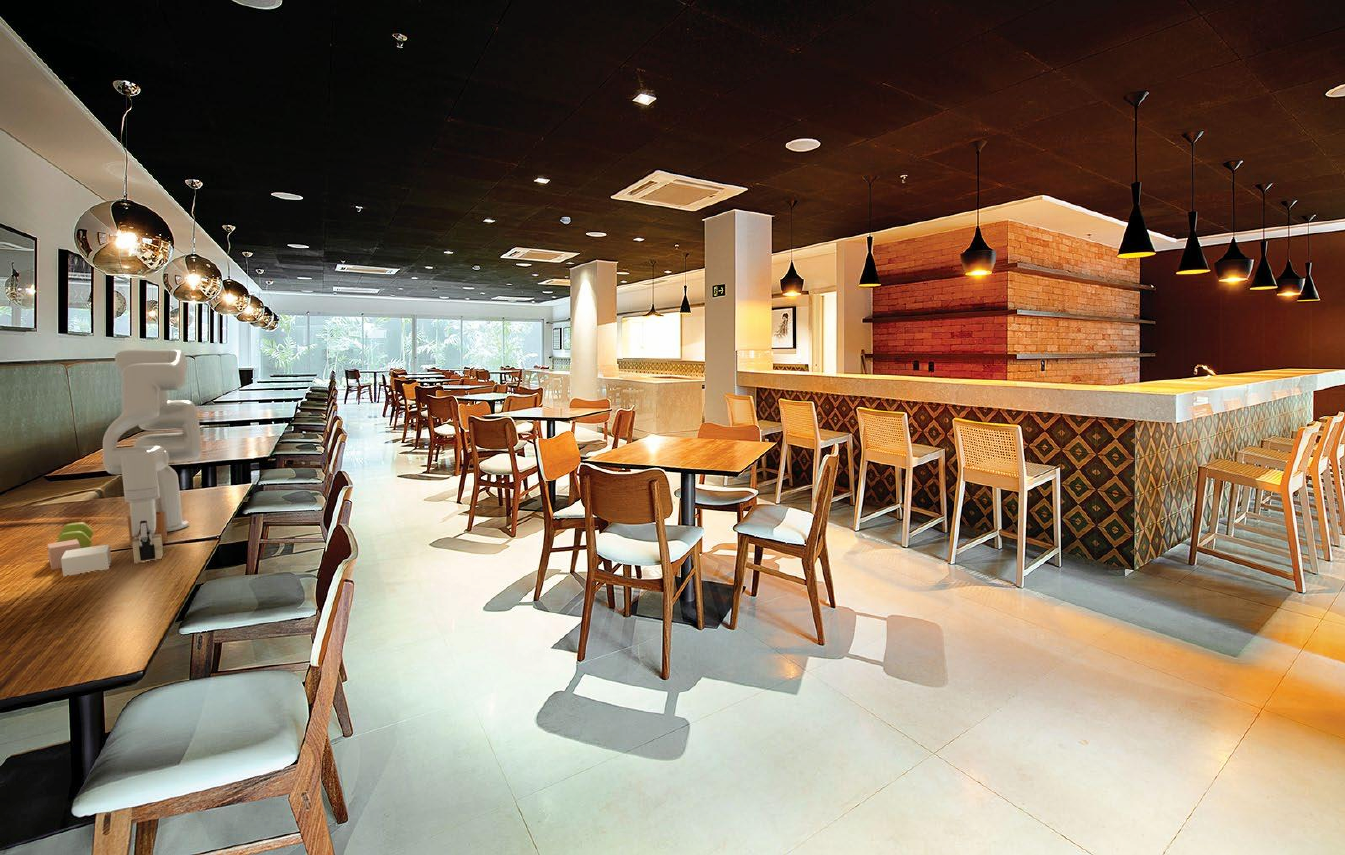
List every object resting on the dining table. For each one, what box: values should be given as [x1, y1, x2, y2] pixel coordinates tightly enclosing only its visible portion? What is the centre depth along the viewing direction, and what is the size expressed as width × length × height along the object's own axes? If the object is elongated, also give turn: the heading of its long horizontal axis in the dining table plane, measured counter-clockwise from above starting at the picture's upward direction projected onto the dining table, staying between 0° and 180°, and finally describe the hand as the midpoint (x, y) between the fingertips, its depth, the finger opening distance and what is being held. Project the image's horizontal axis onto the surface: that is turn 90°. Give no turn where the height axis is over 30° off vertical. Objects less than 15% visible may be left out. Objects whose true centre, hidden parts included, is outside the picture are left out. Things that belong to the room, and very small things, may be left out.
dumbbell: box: [55, 521, 94, 548], centre depth 188 cm, size 16×8×7 cm, turn 40°
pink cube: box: [46, 539, 80, 570], centre depth 176 cm, size 6×6×6 cm
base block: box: [61, 543, 112, 577], centre depth 173 cm, size 9×9×5 cm
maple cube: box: [132, 534, 164, 564], centre depth 180 cm, size 6×6×6 cm
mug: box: [126, 511, 168, 548], centre depth 194 cm, size 9×12×9 cm
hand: (148, 555), depth 181 cm, fingers closed on maple cube, 6 cm apart
